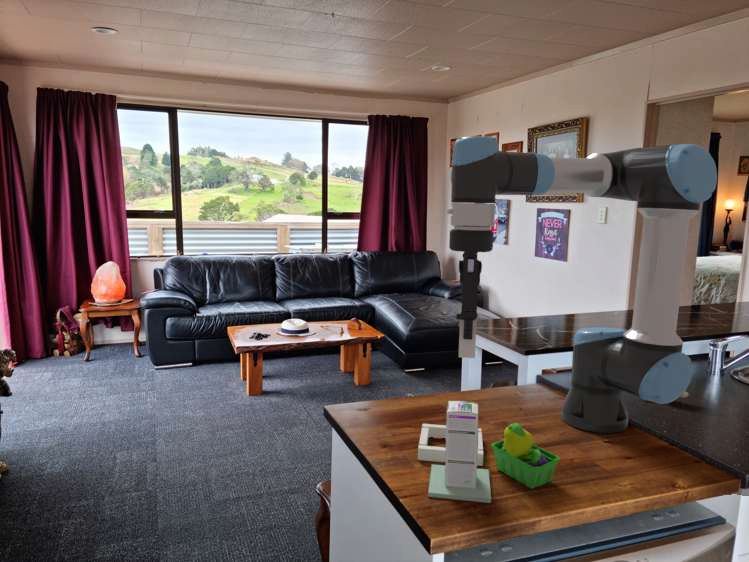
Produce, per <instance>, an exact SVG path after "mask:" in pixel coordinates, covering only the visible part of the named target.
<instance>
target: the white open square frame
mask: <svg viewBox="0 0 749 562" xmlns="http://www.w3.org/2000/svg"><path fill="white" fill-rule="evenodd" d="M430 437H433V438H432V439H442V438H445V439H444V440H446V424H432V423H431V424H430V423H422V425H421V432H420V435H419V440H418V441H419V442H418V446H417V447H418V448H417V460H418V461H424V462H425V461H427V462H437V463H445V457H446V446H445V447H443V446H435V445H434V446H432V445H428V443H429V438H430ZM483 445H484V444H483V433H482V428H479V427H478V455H477V467H478V466H481V467H483V465H484V446H483Z"/></svg>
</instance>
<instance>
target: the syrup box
mask: <svg viewBox="0 0 749 562" xmlns="http://www.w3.org/2000/svg"><path fill="white" fill-rule="evenodd" d="M445 425H446V439H445V447H446V457H445V462H444V465H445V486H448V487H454V488H464V489H476V478H477V469H478V465H477V455H478V428H479V403H477V402H474V401H466V400H448V403H447V407H446V423H445Z"/></svg>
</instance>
